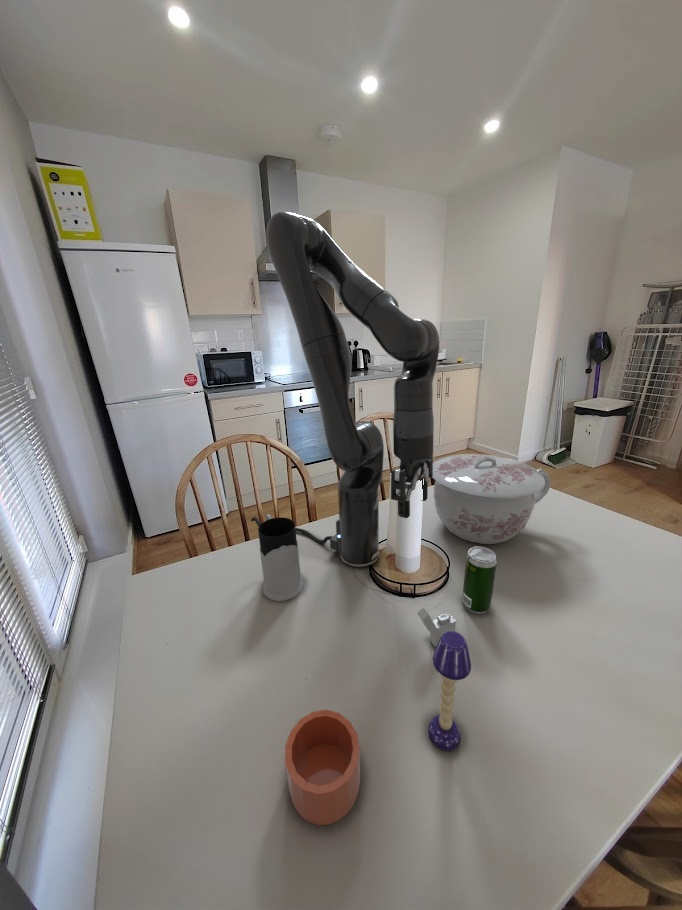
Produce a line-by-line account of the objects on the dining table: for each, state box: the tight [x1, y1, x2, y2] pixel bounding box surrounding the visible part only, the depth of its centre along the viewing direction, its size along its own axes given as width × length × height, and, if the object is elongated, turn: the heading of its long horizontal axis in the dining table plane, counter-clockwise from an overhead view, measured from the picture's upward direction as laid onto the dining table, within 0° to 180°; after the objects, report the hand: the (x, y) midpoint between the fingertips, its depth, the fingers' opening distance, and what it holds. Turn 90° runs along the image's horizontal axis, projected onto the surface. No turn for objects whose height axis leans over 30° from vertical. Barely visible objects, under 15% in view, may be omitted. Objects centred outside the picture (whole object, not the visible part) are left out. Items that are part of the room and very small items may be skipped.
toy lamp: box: [427, 631, 472, 751], centre depth 46 cm, size 5×5×17 cm
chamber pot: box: [431, 453, 552, 545], centre depth 92 cm, size 28×28×21 cm
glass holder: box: [257, 513, 304, 602], centre depth 77 cm, size 9×14×15 cm, turn 24°
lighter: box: [417, 607, 457, 648], centre depth 61 cm, size 7×2×8 cm, turn 111°
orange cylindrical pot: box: [284, 709, 361, 826], centre depth 43 cm, size 9×9×6 cm
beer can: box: [461, 546, 498, 615], centre depth 69 cm, size 5×5×12 cm
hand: (413, 507), depth 73 cm, fingers open, 8 cm apart
